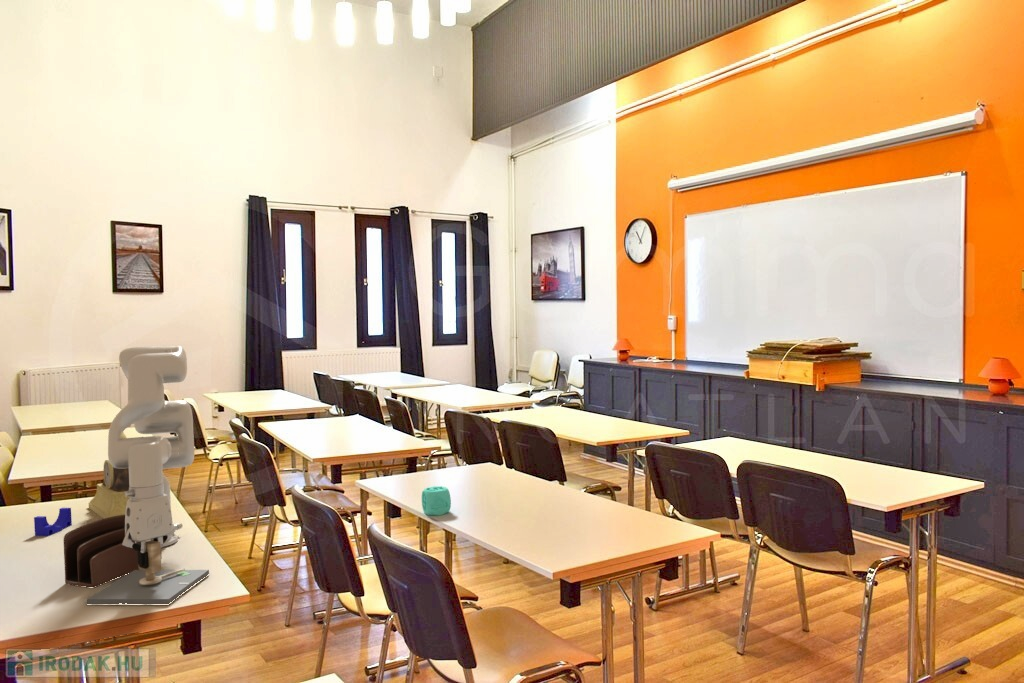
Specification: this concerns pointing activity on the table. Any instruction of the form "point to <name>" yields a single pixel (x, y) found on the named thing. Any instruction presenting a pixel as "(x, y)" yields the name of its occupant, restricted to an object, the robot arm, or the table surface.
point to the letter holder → (98, 553)
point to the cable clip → (62, 522)
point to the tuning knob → (154, 564)
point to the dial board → (147, 588)
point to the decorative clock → (111, 491)
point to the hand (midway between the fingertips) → (150, 565)
